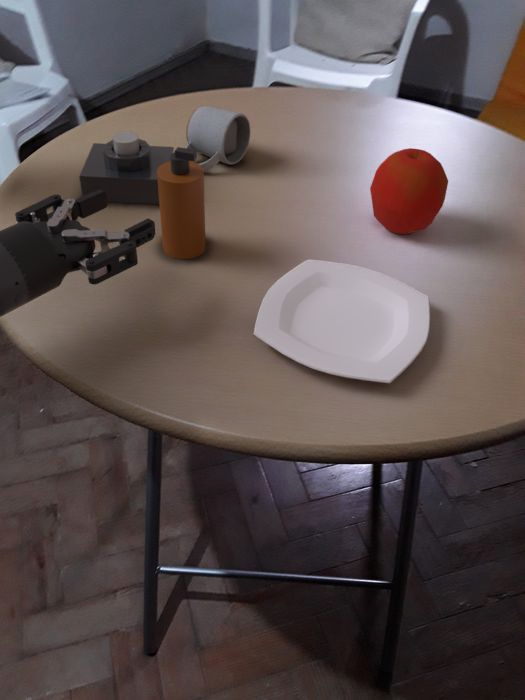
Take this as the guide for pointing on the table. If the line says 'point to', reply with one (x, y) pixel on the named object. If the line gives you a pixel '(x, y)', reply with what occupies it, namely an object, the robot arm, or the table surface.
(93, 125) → the table surface
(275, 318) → the plate
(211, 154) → the ceramic mug
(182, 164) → the soap bottle
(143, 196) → the push button base
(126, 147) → the white push button
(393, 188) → the apple
